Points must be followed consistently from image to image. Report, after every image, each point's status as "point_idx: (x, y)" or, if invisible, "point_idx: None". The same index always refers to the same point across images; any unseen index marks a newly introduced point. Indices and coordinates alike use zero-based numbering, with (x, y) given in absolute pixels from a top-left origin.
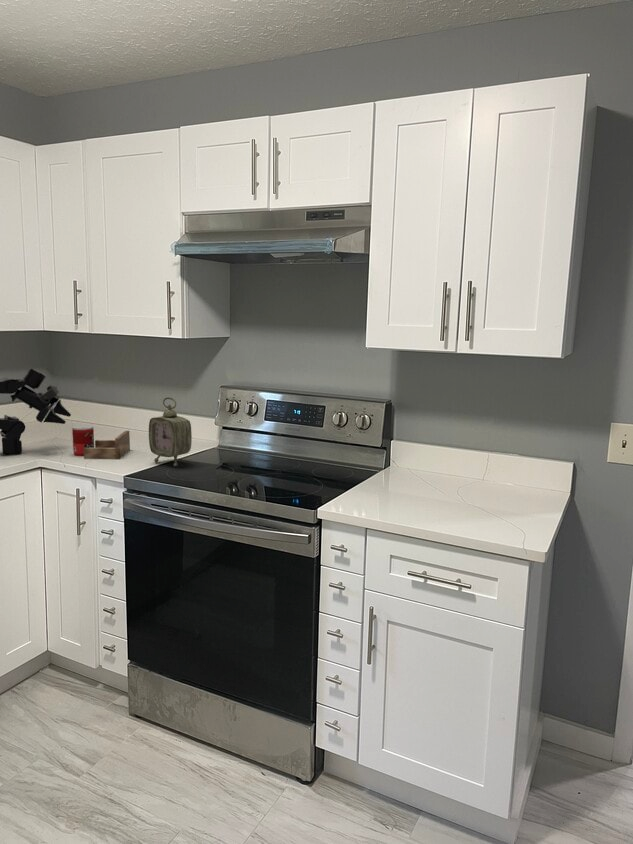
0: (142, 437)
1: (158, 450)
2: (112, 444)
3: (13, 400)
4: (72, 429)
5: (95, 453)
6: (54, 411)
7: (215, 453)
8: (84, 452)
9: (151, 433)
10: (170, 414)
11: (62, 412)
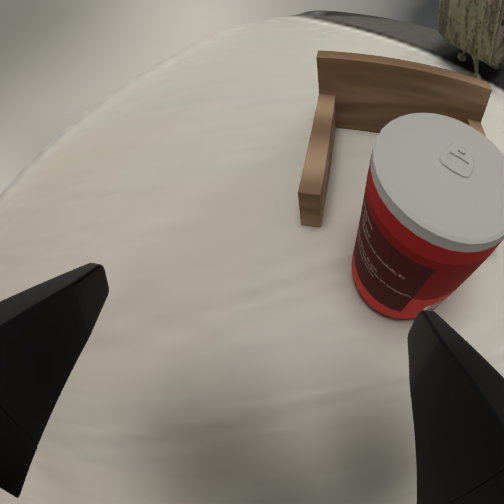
0: (121, 124)
1: (498, 55)
2: (330, 141)
3: None
4: (490, 249)
5: None
6: (13, 466)
7: (365, 18)
8: None
9: (500, 23)
10: None
11: (46, 365)
